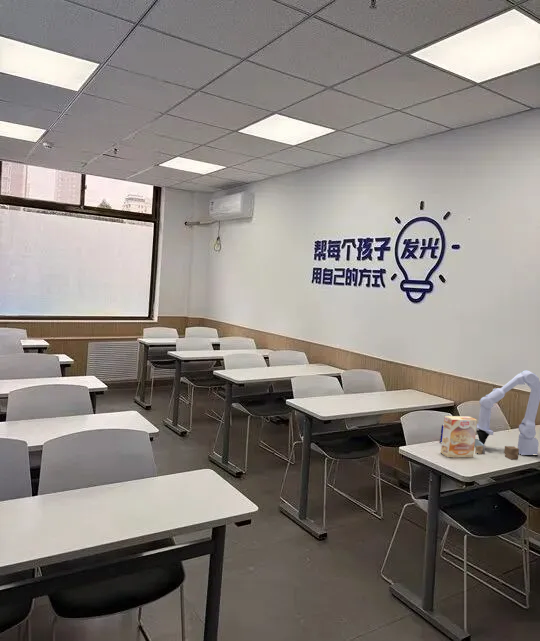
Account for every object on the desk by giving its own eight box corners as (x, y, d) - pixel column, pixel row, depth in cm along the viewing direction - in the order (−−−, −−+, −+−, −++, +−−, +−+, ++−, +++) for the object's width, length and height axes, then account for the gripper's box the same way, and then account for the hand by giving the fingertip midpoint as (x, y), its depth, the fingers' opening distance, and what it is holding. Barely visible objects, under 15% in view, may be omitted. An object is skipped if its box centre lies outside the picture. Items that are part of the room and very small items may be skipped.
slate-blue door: (485, 453, 268) (486, 446, 268) (482, 453, 268) (483, 445, 268) (476, 445, 281) (477, 438, 281) (474, 445, 281) (474, 438, 281)
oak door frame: (505, 453, 272) (506, 446, 272) (507, 454, 270) (508, 447, 270) (474, 453, 269) (475, 445, 268) (476, 454, 267) (477, 446, 267)
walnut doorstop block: (512, 456, 268) (513, 446, 267) (517, 459, 264) (518, 448, 263) (504, 456, 267) (506, 446, 266) (509, 459, 263) (511, 448, 262)
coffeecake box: (448, 457, 257) (452, 419, 256) (439, 453, 264) (443, 415, 262) (474, 457, 261) (478, 419, 260) (465, 452, 268) (469, 415, 266)
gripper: (470, 415, 284) (467, 439, 285) (485, 422, 270) (483, 448, 271) (481, 416, 286) (479, 440, 287) (498, 423, 272) (495, 448, 272)
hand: (481, 444), depth 279 cm, fingers closed
